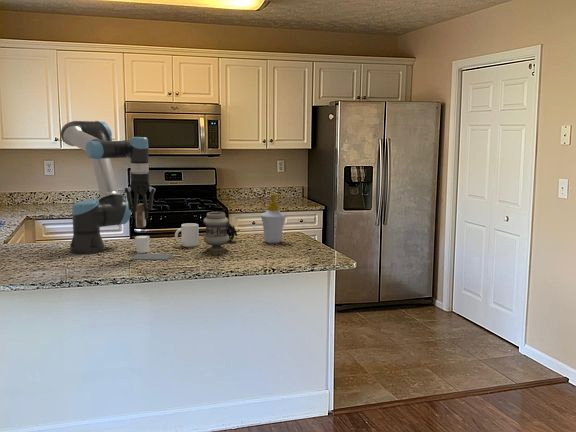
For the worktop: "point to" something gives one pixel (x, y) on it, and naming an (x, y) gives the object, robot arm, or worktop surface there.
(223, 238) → the apothecary jar
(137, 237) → the white cup
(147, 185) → the robot arm
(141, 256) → the rubber mat
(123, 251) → the worktop surface
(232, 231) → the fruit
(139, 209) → the walnut slab
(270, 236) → the soap bottle
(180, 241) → the mug
